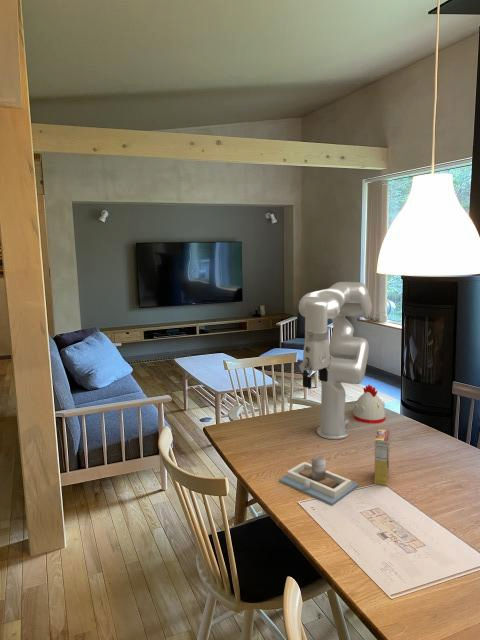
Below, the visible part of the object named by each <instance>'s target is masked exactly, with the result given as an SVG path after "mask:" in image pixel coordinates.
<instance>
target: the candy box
mask: <svg viewBox="0 0 480 640" xmlns="http://www.w3.org/2000/svg"><path fill="white" fill-rule="evenodd" d="M390 433H391V432H390V430H386V429H385V430H384V429H377V431H376V435H375V439H374V479H373V480H374V485H378V486H386V487H387V486H388V482H389V474H390Z"/></svg>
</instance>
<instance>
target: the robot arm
mask: <svg viewBox="0 0 480 640" xmlns="http://www.w3.org/2000/svg"><path fill="white" fill-rule="evenodd" d="M372 306H373V304H372V300H371V297H370V292H369V290H368V288H367V286H366V285H365V284H364V283H363V282H358V281H355V282H353V281H339V282H336V283H334V284H333V285H331V286H329V288H325V289H324V288H323V289H320V290H315V291H312V292H310V291H309V292H308V293H306V294H304V295H303V296H302V297H301V299H300V300H299V303H298V312H299V314H300V315H301V316H302V317H303V318H304V319H305V320H304V321H305V323H304V346H303V352H302V353H303V354H302V362H301V363H300V364H299V371H300V374H301V376H302V387H303V388H306V389H312V376H311V375H312V373H313V372H317V371H318V372H319V373H318V374H319V376H318V379H319V381H320V383H321V386H320V387H321V388H320V389H321V395H320V398H321V400H320V402H321V403H320V406H321V408H320V426H319V427H318V428H317V429H316V434H317V435H318V436H319V437H321V438H324V439H328V440H343V439H345V438H347V437H348V436H349V430H348V429H347V428H346V427H347V425H348V424H350V419H349V418H346V390H345V388H344V386H343V385H342V384H348V385H349V384H351V385H360V384H361V383H362V382H363V381H364V377H365V375H366V374H365V373H366V368H367V362H368V360H369V359H368V358H369V351H370V348H369V347H370V346H369V341H368V340H367V339H366V338H363V337H361V336H354V332H355V330H354V326H353V324H352V323H351V321H349V320H348V319H347V318H346V317H354V318H366V317H369V316H370V315H371V313H372V308H373V307H372ZM328 320H331V322H332V326H333V327H332V333H331V337H330V340H329V339H328Z"/></svg>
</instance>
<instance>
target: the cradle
mask: <svg viewBox="0 0 480 640" xmlns="http://www.w3.org/2000/svg"><path fill="white" fill-rule="evenodd" d="M306 468H308V469H310V470H312V463H309V462H306V461H303V462H301V463H299V464H297V465H296V466H294V467H292V468H291V469H288V470H287V471H286V475H284V476H282V477H280V478H278V482H280V483H282V484H284V485H286V486H289V487H290V488H292V489H295V490H297V491H299V492H301V493H304V494H306V495H308V496H309V497H312V498H315V499H317V500H319V501H321V502H324V503H326V504H327V505H330V506H335V504H337V503H338V502H340V501H341V500H342V499H344V498H345V497H346V496H348V495H349V494H350V493H352V492H353V491H354V490H356V489H358V488H359V486H360V484H359V483H356V482H355V481H352V480H351V479H349V478H346V477H343V476H341V475H339V474H336V473H333V472H331V471H328V470H326V472H325V476H326V477H328V478H330V479H332V480H334V481H337V482H339V486H337V487H336V488H334V489H332V488H330V487H328V486H325V485H323V484H321V483H318V482H316V481H314V480H311V479H309V478H307V477H304V476H302V475H300V474H299V472H300V471H302V470H304V469H306Z"/></svg>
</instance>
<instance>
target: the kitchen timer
mask: <svg viewBox="0 0 480 640" xmlns="http://www.w3.org/2000/svg"><path fill="white" fill-rule="evenodd" d="M362 389H363V392H364V393H363V394H361V395H360V396H359V397H358V399H357V400H356V402H355V403H354V407H353V413H352V417H353V419H354V420H355V421H358V422H360V423H363V424H371V425H372V424H381V423H384V422H385V421H386V410H385V403H384V401H382V399H381V398H380V397H379V395H377V394H378V390H376V387H373V385H371V384H368V385H366V386H365V387H363V388H362Z"/></svg>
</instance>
